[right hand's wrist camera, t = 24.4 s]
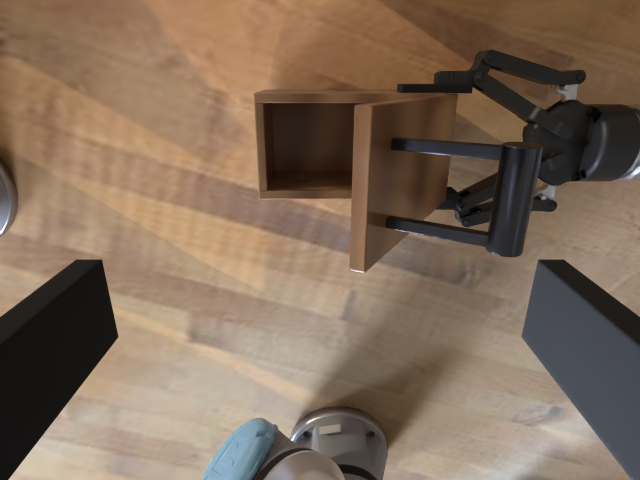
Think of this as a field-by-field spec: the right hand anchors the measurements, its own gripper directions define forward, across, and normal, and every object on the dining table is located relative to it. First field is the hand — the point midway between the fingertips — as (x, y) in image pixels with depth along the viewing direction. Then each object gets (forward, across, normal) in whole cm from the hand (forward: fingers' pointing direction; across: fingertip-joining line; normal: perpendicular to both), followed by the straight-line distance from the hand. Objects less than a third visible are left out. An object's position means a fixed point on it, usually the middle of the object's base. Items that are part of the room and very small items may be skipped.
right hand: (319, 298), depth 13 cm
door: (+20, -7, 0) cm, 21 cm away
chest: (+38, -3, 0) cm, 38 cm away
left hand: (+31, -8, 0) cm, 32 cm away
